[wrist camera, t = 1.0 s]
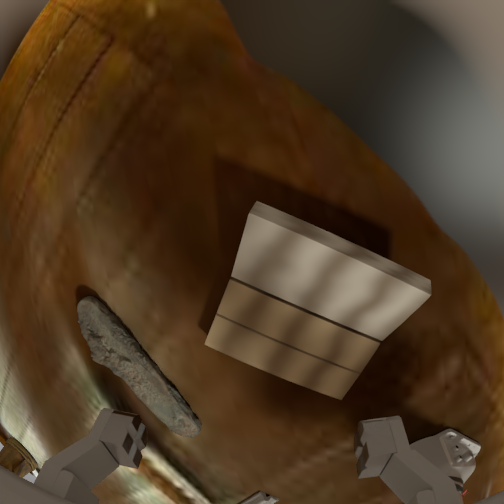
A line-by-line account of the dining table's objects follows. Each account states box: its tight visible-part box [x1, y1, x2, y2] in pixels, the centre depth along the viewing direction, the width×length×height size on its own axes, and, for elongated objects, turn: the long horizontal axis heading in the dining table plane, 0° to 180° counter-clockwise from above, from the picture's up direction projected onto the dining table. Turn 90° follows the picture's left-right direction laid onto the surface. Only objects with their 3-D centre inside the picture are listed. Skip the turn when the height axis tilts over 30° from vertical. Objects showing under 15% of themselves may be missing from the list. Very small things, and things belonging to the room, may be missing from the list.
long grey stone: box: [77, 296, 202, 438], centre depth 54 cm, size 35×5×10 cm
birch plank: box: [231, 201, 431, 341], centre depth 40 cm, size 24×12×2 cm, turn 69°
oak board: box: [205, 277, 380, 400], centre depth 46 cm, size 24×12×3 cm, turn 69°
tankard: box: [0, 438, 38, 478], centre depth 76 cm, size 18×24×25 cm
